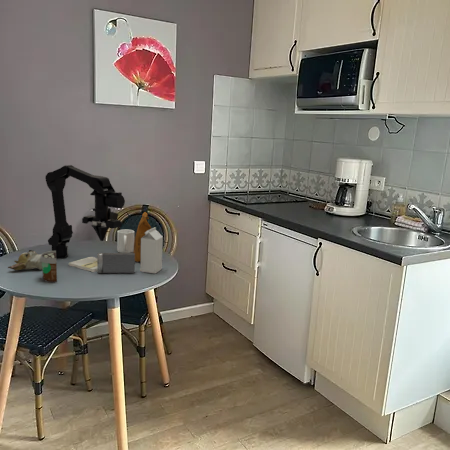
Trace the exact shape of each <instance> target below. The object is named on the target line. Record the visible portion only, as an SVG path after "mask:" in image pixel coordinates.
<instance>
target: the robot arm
mask: <svg viewBox="0 0 450 450" xmlns="http://www.w3.org/2000/svg"><path fill="white" fill-rule="evenodd" d="M71 177H72V178H74V179H76V180H78V181H80V182H82V183H85V184H86V185H88V186H89V188H90V189H92V190H93V191H92V192H91V193H90V196H94V208H92V212H94V215H84V216H83V217H82V219H81V222H82V224H85V225H87V224H89V223H92V224H91V225H90V226H91V227H92V229H93V230H94V231H95V233H96V235H97V237H98V238H99V241H101V242H103V241H104V240H105V237H106V235H107V232H108V229H117V228H121V227H122V225H123V223H122V222H123V221H122V220H120V219H118V218H119V213H117V212H114V211H112V209H111V208H115V209H123V207H124V206H125V202H126V201H125V197H124V196H123V195H122V194H123V193H122V192H121V191H119V192H116V190H115V189H114V187H113V185H112V184H111V181H110V178H108V176H107V177H106V176H102V175H94V174H92V173H89V172H87V171H85V170H82V169H80V168H78V167H75V165H72V164H68V165H67V164H65V165H63V166H61V167H60V168H58V169H56V170H53V171H48V172H47V173H46V174H45V183H46V186H47V188H48V189H49V191H50V192H51V199H52V206H53V215H54V225H53V227H52V235H51V236H50V237H49V238H48V239H47V242H48V245H49V246H51V251H56V259H66V258H67V256H69V246H68V245H67V244H68V243H70V240H71V239H72V237H73V234H74V231H73V226H72V224H69V223H68V221H67V214H66V207H65V205H66V204H65V197H64V189H65V187H66V180H67V179H69V178H71Z"/></svg>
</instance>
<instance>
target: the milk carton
mask: <svg viewBox="0 0 450 450" xmlns="http://www.w3.org/2000/svg"><path fill="white" fill-rule="evenodd" d="M151 228H152V229H150V230H148V231H146V232H145V234H146V235H145V236H143V237H142V238H141V261H140V269H139V270H140V272H142V273H149V274H157V273H158V272H160V271H162V267H163V243H164V242H163V238H164V237H163V235H162V234H161V233H160V232H159V231H158V230H157V229H156V228H157V227H156V226H155V227H151Z"/></svg>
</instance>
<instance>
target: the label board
mask: <svg viewBox="0 0 450 450" xmlns="http://www.w3.org/2000/svg"><path fill="white" fill-rule="evenodd" d="M68 266H70V267H73V268H76V269H81V270H84V271H87V272H92V273H95V272H97V257H95V256H88V257H85V258H84V257H83V258H81V259H78V260H73V261H70V262H68Z"/></svg>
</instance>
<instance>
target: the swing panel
mask: <svg viewBox="0 0 450 450" xmlns="http://www.w3.org/2000/svg"><path fill="white" fill-rule="evenodd" d="M96 255H97V257H96V258H97V271H96V272H97V273H99V274H102V273H104V274H113V273H115V274H116V273H117V274H118V273H119V274H122V273H123V274H124V273H126V274H128V273H130V274H131V273H133V274H135V263H136V261H135V253H133V252H131V253H120V252H98V253H97V254H96Z"/></svg>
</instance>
